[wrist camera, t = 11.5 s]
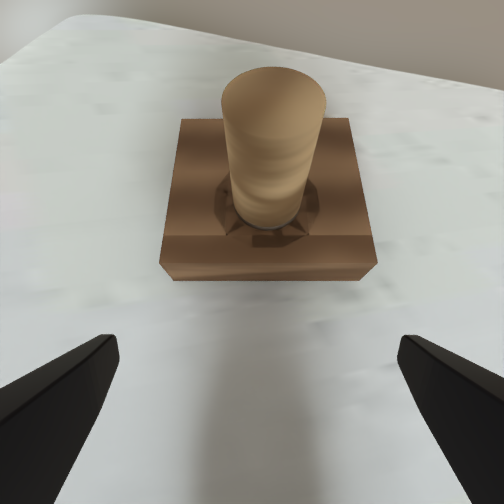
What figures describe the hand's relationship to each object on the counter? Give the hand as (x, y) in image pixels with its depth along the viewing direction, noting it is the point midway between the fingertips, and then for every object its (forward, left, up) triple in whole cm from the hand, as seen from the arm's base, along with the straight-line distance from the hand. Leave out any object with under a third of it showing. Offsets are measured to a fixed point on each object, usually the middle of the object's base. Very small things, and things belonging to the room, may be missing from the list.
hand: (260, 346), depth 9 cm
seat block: (+6, -13, -14) cm, 20 cm away
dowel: (+5, -11, -14) cm, 18 cm away
